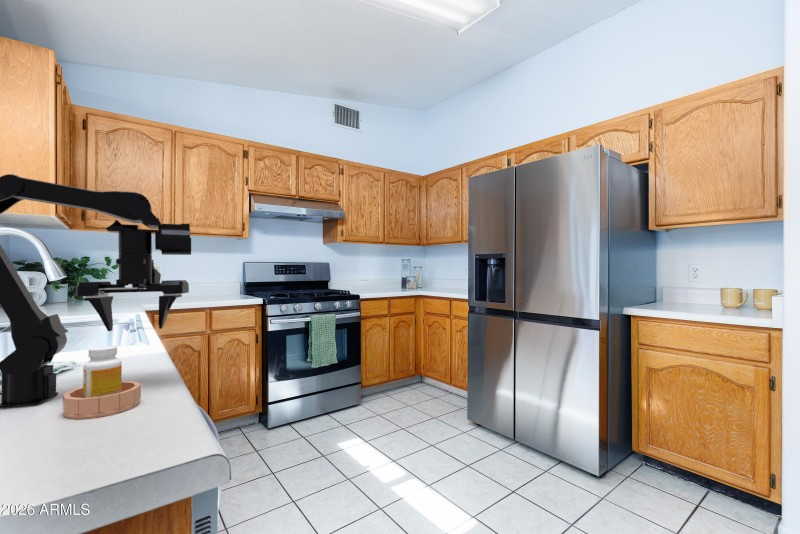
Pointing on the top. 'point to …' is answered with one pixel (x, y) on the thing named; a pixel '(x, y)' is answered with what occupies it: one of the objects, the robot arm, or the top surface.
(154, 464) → the top surface
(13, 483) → the top surface
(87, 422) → the top surface
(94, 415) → the terracotta bowl
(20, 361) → the robot arm
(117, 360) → the supplement bottle
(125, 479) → the top surface
